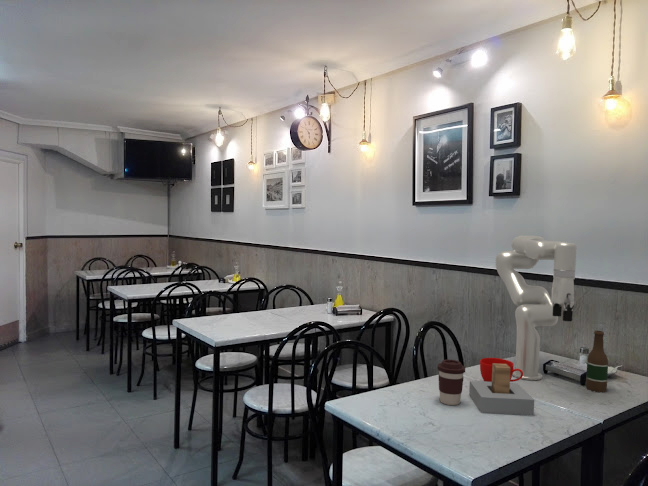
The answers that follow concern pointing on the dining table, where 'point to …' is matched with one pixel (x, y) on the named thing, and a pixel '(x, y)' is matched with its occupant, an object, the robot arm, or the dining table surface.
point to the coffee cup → (450, 381)
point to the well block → (501, 399)
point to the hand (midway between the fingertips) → (561, 318)
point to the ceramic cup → (487, 368)
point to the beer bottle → (597, 365)
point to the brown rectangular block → (500, 378)
